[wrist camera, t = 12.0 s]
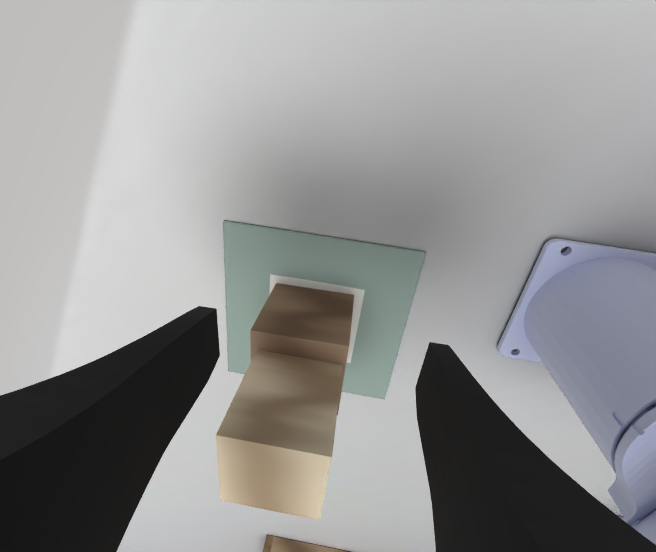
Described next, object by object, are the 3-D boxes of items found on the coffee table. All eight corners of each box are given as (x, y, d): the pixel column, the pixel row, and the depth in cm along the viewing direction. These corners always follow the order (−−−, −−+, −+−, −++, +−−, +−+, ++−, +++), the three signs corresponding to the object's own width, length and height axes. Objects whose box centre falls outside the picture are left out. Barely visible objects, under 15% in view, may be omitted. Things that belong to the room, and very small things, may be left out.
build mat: (425, 251, 19) (425, 253, 19) (384, 397, 25) (384, 400, 24) (224, 220, 20) (222, 222, 19) (229, 369, 25) (227, 372, 25)
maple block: (342, 364, 17) (331, 457, 12) (332, 423, 19) (319, 520, 14) (256, 349, 17) (216, 435, 13) (255, 409, 19) (220, 500, 15)
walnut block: (354, 294, 21) (349, 346, 16) (344, 355, 23) (337, 415, 19) (276, 282, 21) (250, 330, 16) (274, 344, 23) (250, 400, 19)
